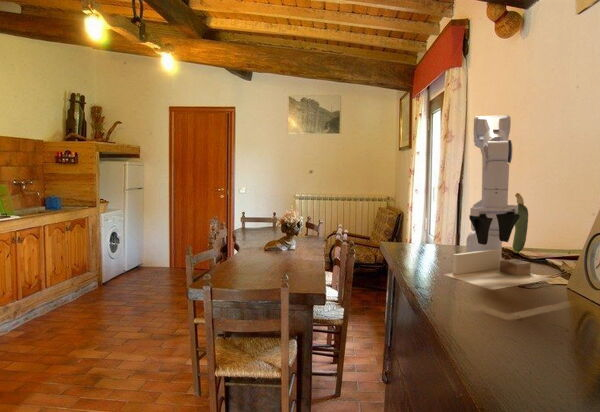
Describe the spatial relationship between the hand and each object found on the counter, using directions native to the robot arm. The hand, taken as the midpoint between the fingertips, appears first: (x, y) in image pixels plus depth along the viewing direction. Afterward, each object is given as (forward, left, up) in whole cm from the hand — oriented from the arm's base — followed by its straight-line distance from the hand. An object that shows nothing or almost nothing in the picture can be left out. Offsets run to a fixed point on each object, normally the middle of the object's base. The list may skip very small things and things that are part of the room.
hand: (493, 242), depth 107 cm
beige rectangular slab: (-5, 0, -8) cm, 10 cm away
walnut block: (+1, +7, -8) cm, 11 cm away
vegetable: (-18, +33, -9) cm, 39 cm away
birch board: (+2, -1, -9) cm, 9 cm away
